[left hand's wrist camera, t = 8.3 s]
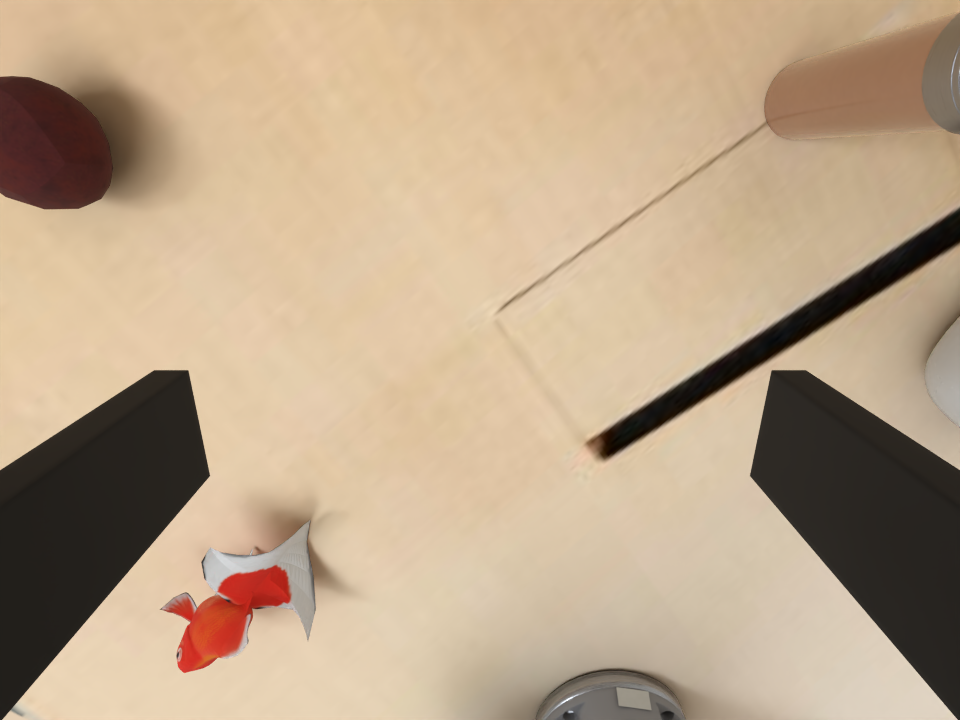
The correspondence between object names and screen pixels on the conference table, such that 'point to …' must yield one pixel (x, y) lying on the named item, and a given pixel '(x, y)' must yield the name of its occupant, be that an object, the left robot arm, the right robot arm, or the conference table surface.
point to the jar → (857, 88)
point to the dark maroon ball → (50, 147)
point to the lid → (944, 78)
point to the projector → (946, 373)
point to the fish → (243, 599)
